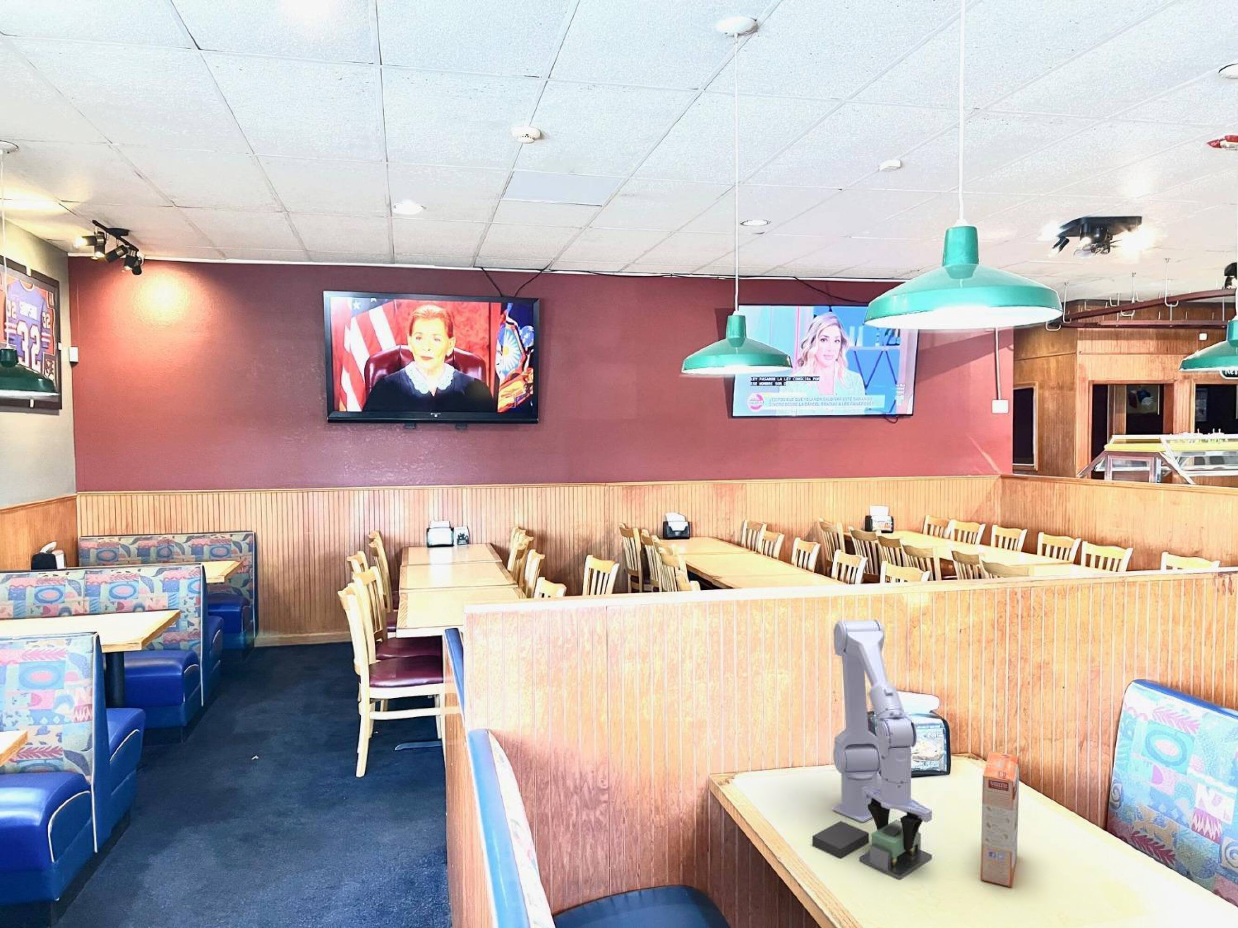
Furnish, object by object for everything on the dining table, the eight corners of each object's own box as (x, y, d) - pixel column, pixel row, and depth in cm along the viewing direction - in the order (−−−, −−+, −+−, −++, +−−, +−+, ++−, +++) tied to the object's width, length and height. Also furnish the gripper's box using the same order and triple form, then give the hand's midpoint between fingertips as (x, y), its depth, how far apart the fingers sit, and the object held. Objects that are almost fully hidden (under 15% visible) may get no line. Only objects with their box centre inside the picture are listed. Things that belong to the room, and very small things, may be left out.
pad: (840, 829, 176) (840, 820, 176) (868, 842, 170) (868, 832, 170) (812, 845, 169) (812, 835, 169) (840, 858, 164) (840, 848, 164)
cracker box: (1014, 889, 152) (1015, 780, 152) (979, 880, 155) (980, 774, 155) (1019, 855, 165) (1020, 754, 164) (987, 848, 168) (987, 748, 167)
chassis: (892, 841, 171) (892, 821, 170) (932, 858, 164) (932, 837, 164) (859, 860, 163) (859, 840, 163) (899, 879, 156) (899, 858, 156)
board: (896, 833, 168) (896, 816, 168) (918, 842, 164) (918, 825, 164) (871, 848, 162) (871, 830, 162) (893, 858, 158) (893, 840, 158)
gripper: (853, 771, 166) (853, 835, 166) (918, 795, 155) (918, 864, 155) (873, 761, 170) (872, 825, 171) (937, 784, 159) (937, 852, 160)
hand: (895, 843), depth 163 cm, fingers closed on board, 5 cm apart
